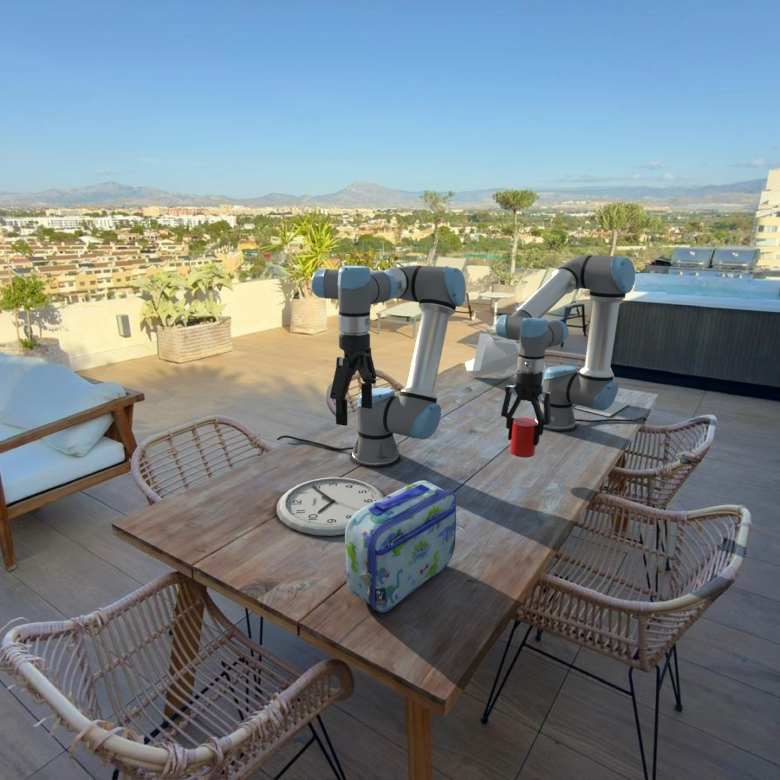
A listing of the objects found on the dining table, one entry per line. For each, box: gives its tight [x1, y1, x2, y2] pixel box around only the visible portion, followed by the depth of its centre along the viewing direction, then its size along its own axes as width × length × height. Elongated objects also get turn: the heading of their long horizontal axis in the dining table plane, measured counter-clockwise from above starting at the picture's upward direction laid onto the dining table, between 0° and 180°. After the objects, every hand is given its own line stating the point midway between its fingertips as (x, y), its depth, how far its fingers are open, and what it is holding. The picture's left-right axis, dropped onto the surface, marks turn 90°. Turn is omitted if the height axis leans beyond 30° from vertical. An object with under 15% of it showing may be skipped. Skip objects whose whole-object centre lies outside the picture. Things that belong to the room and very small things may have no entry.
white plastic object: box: [464, 306, 547, 378], centre depth 260 cm, size 37×45×31 cm
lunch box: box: [344, 480, 457, 614], centre depth 109 cm, size 26×11×21 cm, turn 135°
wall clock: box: [276, 476, 386, 537], centre depth 142 cm, size 30×2×30 cm
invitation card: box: [573, 400, 629, 418], centre depth 226 cm, size 21×1×15 cm
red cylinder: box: [509, 417, 538, 458], centre depth 162 cm, size 8×8×10 cm
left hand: (354, 415), depth 131 cm, fingers open, 13 cm apart
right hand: (523, 441), depth 163 cm, fingers closed on red cylinder, 7 cm apart
